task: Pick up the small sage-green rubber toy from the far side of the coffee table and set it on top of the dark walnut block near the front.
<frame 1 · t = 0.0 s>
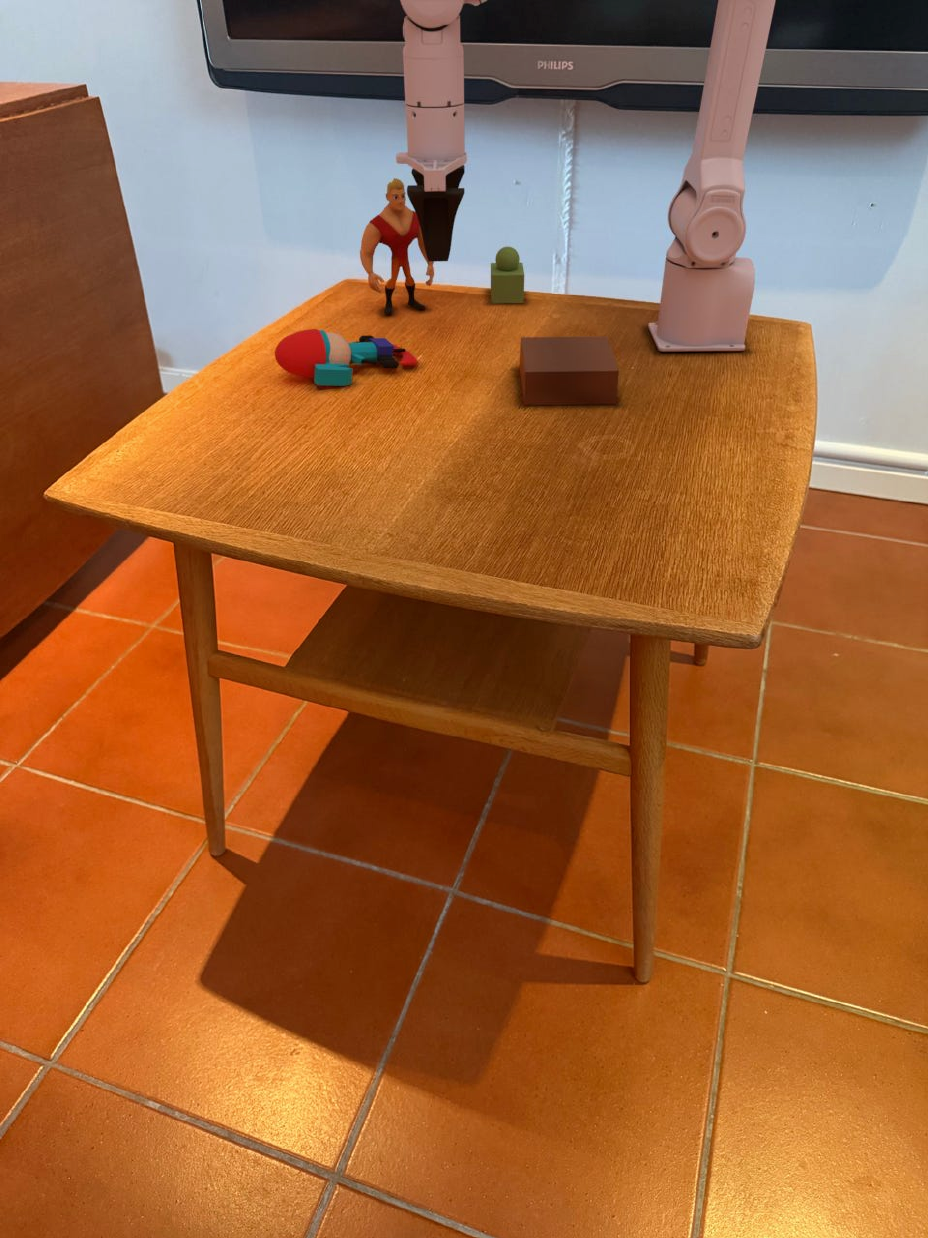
hand: (439, 249, 94), 10 cm above the table, tool pointing down, fingers open, 7 cm apart
toy figure: (346, 373, 94), on the table
walnut block: (565, 386, 90), on the table
action figure: (403, 311, 109), on the table
green toy: (506, 296, 112), on the table
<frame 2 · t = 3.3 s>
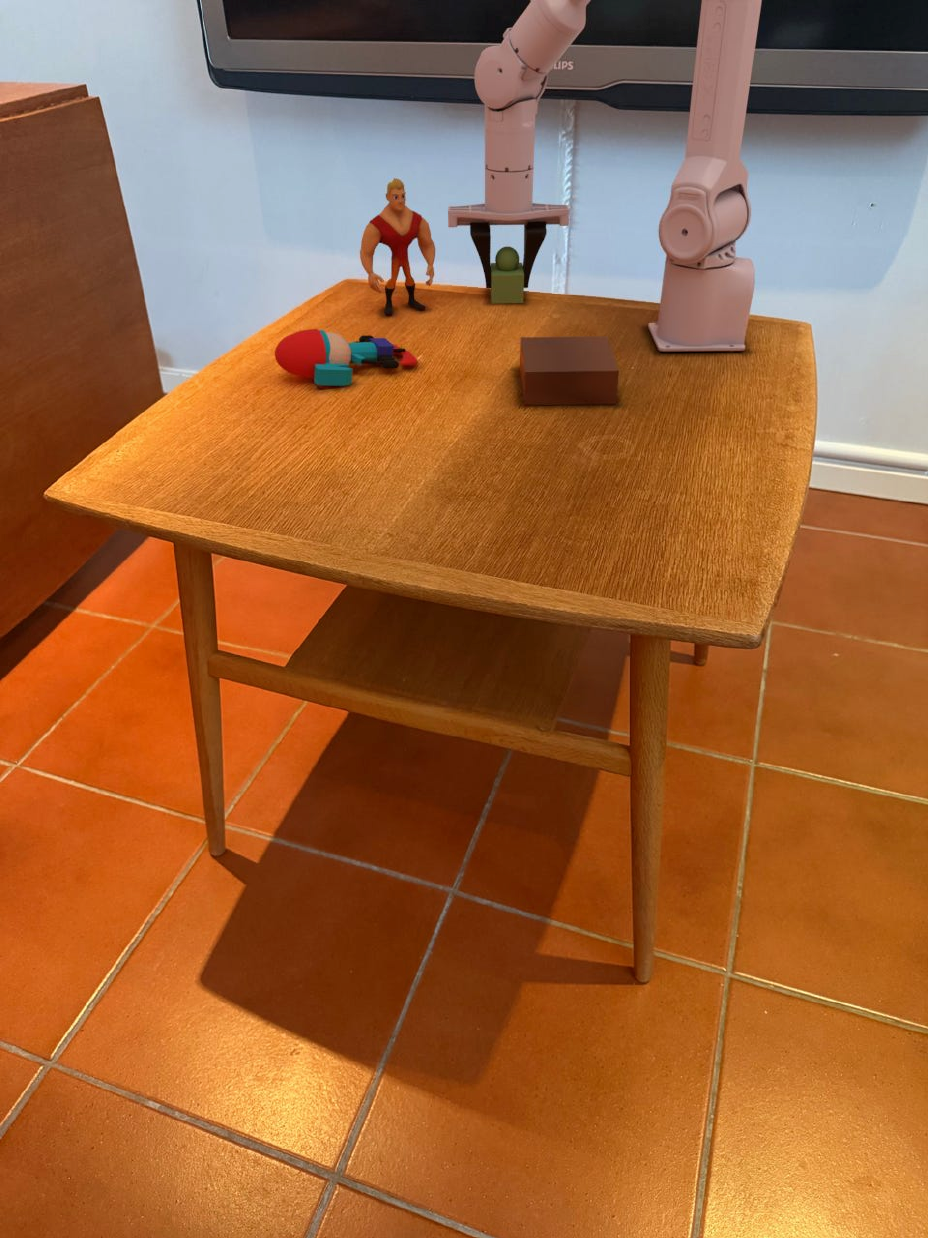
hand: (507, 285, 111), 1 cm above the table, tool pointing down, fingers closed on green toy, 4 cm apart
green toy: (506, 296, 112), on the table, touching gripper
everything else where it was.
when the fingers open (5 cm above the table, at t = 8.1 s): green toy stays where it is, resting on walnut block.
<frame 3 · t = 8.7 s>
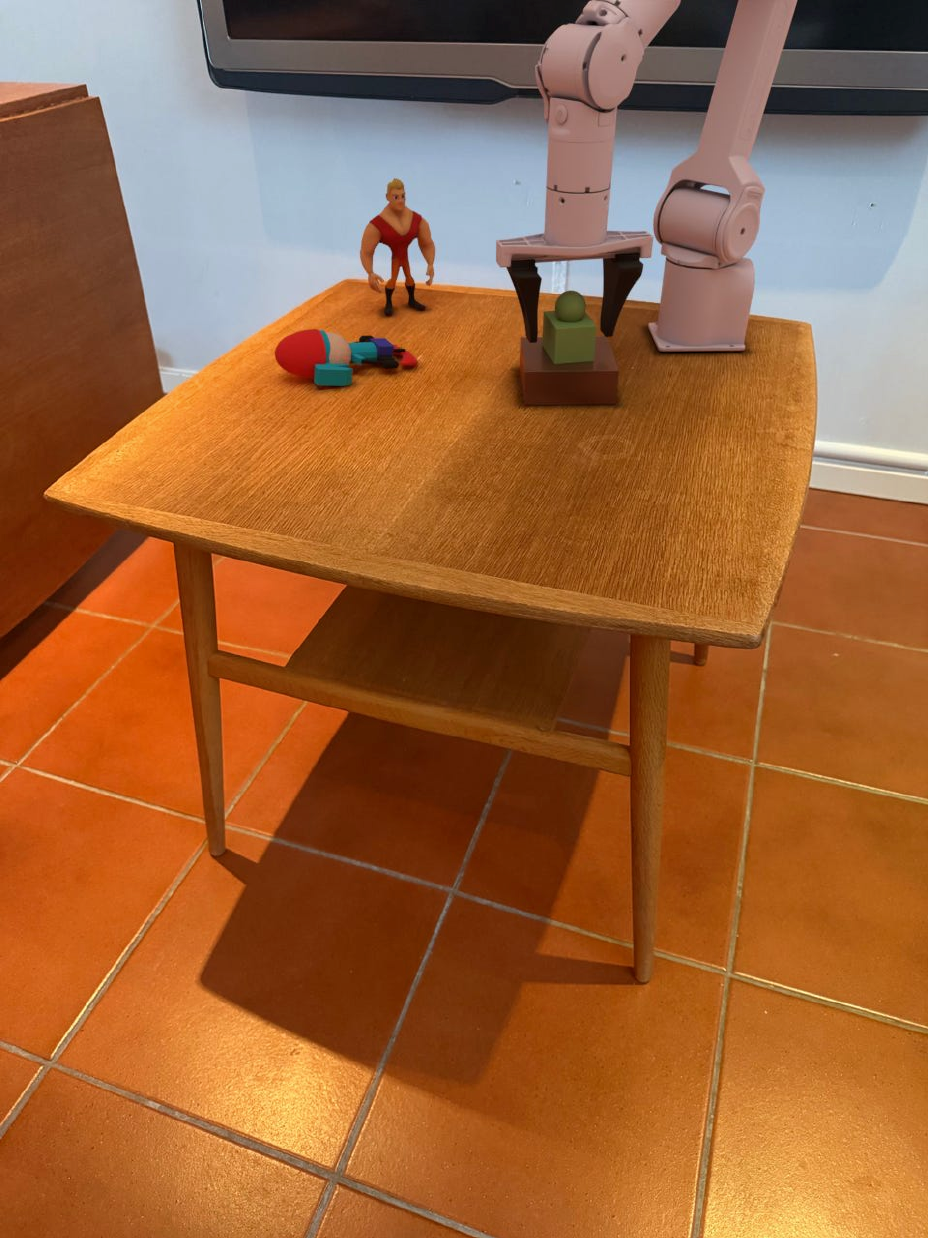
hand: (568, 336, 87), 5 cm above the table, tool pointing down, fingers open, 7 cm apart
green toy: (567, 353, 88), point 3 cm above the table, touching walnut block
everything else where it was.
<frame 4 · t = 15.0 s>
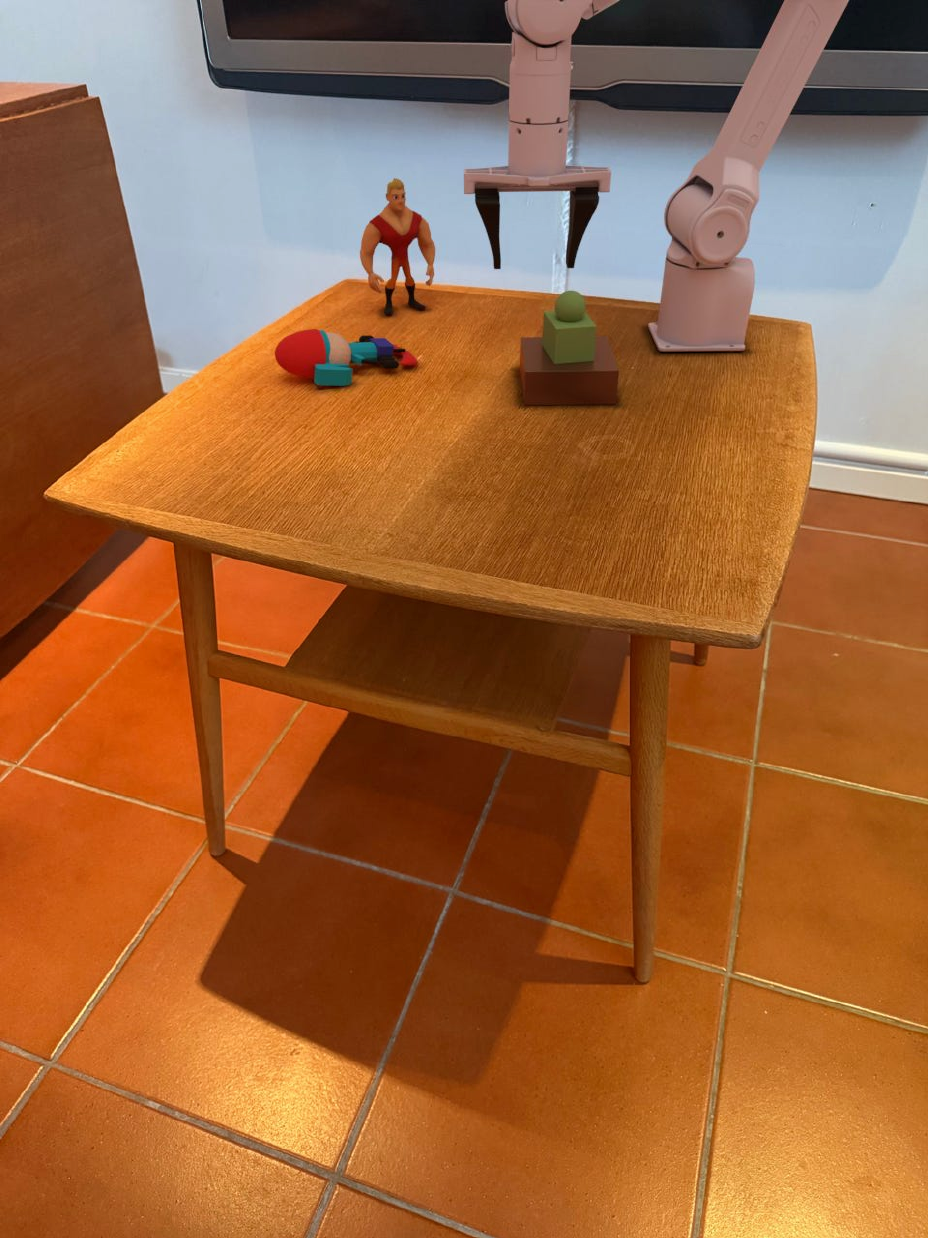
hand: (533, 265, 93), 9 cm above the table, tool pointing down, fingers open, 7 cm apart
nothing on the table moved.
at the end: green toy inside the target area on the walnut block (0.0 cm from its centre), point 3.5 cm above the walnut block's base; green toy tilted 0°; the gripper is holding nothing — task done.
